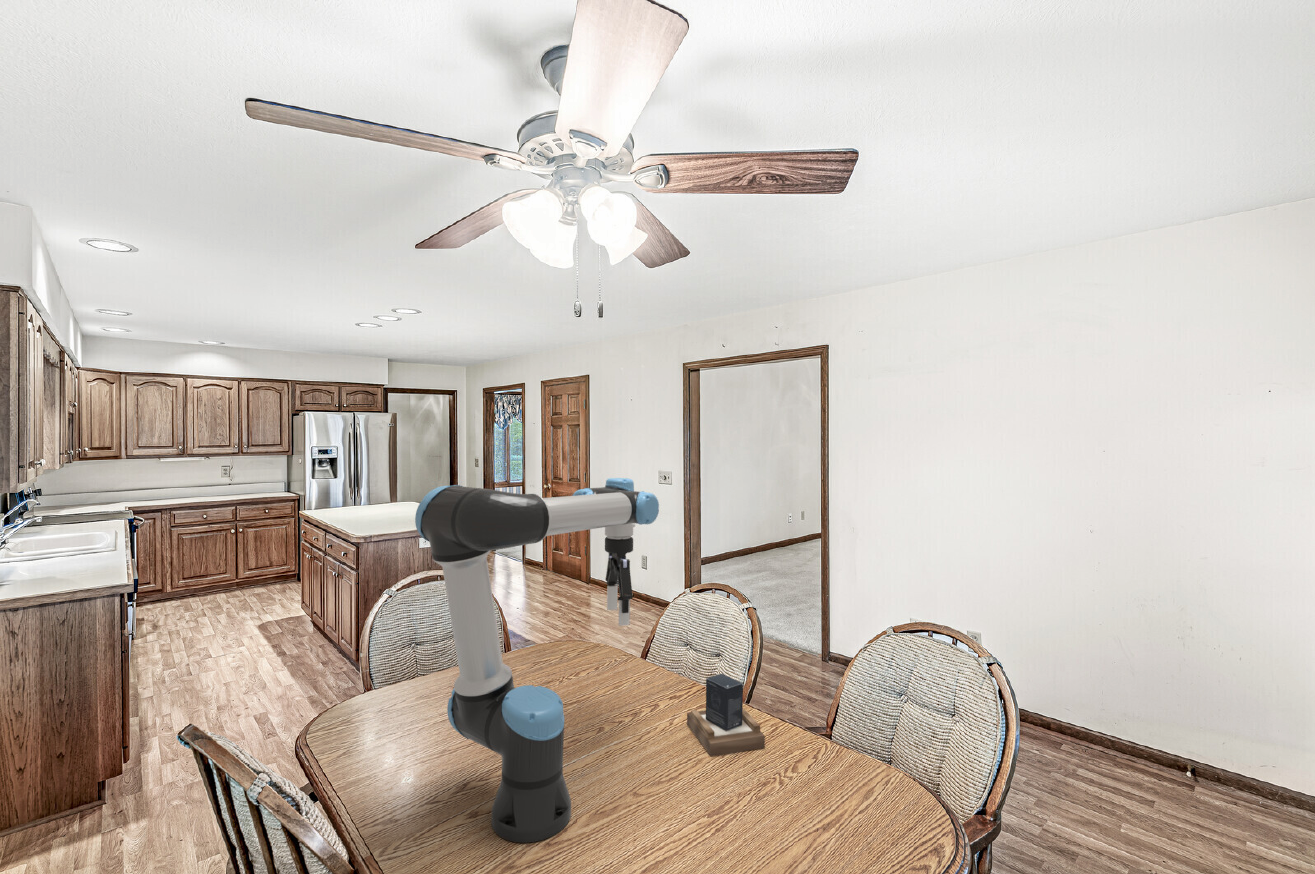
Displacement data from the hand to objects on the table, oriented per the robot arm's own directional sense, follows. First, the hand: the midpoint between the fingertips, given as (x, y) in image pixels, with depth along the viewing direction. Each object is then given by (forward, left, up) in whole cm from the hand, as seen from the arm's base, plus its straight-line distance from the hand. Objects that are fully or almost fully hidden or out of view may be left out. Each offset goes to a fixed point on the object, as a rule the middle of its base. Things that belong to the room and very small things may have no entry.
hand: (617, 617), depth 155 cm
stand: (-16, -24, -27) cm, 39 cm away
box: (-16, -24, -24) cm, 37 cm away
